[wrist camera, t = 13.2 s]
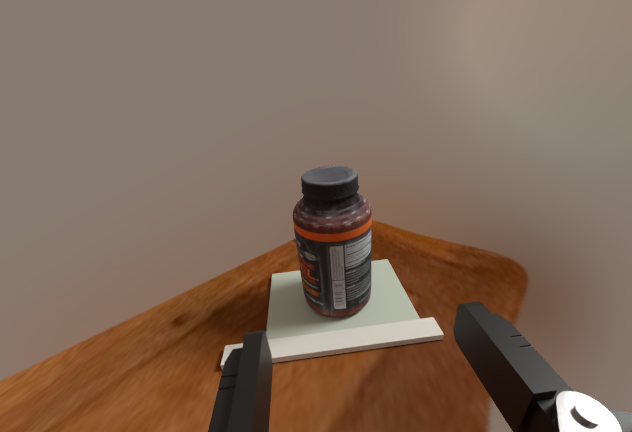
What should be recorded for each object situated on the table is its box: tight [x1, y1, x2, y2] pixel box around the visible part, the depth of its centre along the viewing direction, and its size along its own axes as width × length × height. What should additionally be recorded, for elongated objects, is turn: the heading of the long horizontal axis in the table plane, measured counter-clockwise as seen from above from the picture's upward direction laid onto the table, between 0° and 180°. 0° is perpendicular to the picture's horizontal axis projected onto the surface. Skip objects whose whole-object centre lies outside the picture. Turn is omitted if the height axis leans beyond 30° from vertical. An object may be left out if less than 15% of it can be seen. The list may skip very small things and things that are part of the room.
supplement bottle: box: [293, 166, 372, 317], centre depth 22 cm, size 6×6×11 cm
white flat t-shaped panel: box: [220, 259, 444, 370], centre depth 24 cm, size 16×10×1 cm, turn 95°
